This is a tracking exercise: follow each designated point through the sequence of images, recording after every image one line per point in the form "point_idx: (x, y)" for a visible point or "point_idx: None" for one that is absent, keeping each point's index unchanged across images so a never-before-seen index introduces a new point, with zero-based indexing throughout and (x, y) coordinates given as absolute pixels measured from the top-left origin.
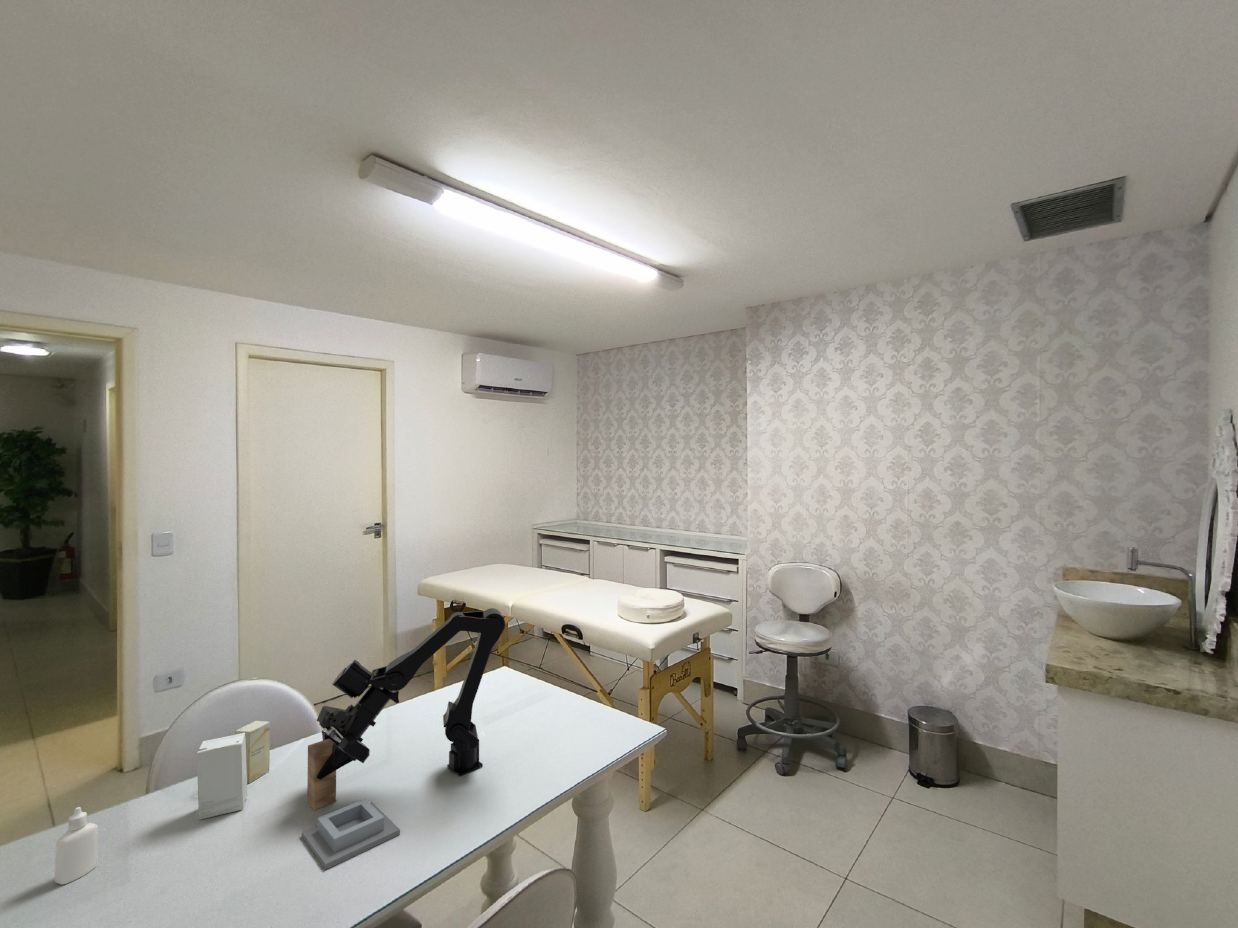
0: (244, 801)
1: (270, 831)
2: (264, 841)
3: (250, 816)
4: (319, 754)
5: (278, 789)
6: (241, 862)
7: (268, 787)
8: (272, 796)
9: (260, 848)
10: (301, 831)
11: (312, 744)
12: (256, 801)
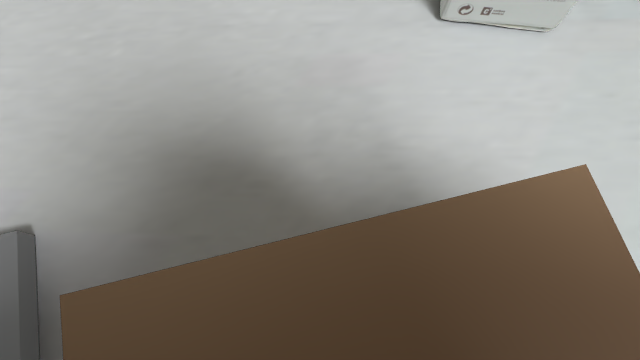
0: (479, 11)
1: (182, 115)
2: (114, 94)
3: (367, 47)
4: None
5: (573, 149)
6: (20, 25)
7: (612, 109)
8: (511, 124)
9: (69, 81)
10: (19, 231)
11: (601, 269)
12: (493, 66)
